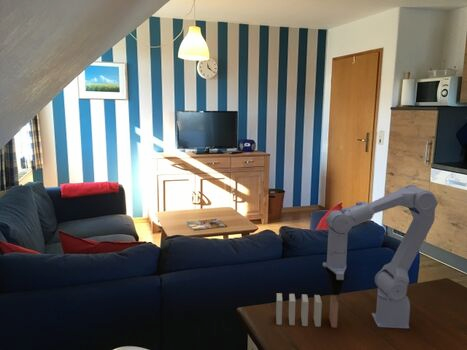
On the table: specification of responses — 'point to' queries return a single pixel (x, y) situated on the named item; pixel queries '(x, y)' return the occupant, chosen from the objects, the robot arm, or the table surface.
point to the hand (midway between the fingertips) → (334, 292)
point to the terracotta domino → (333, 311)
